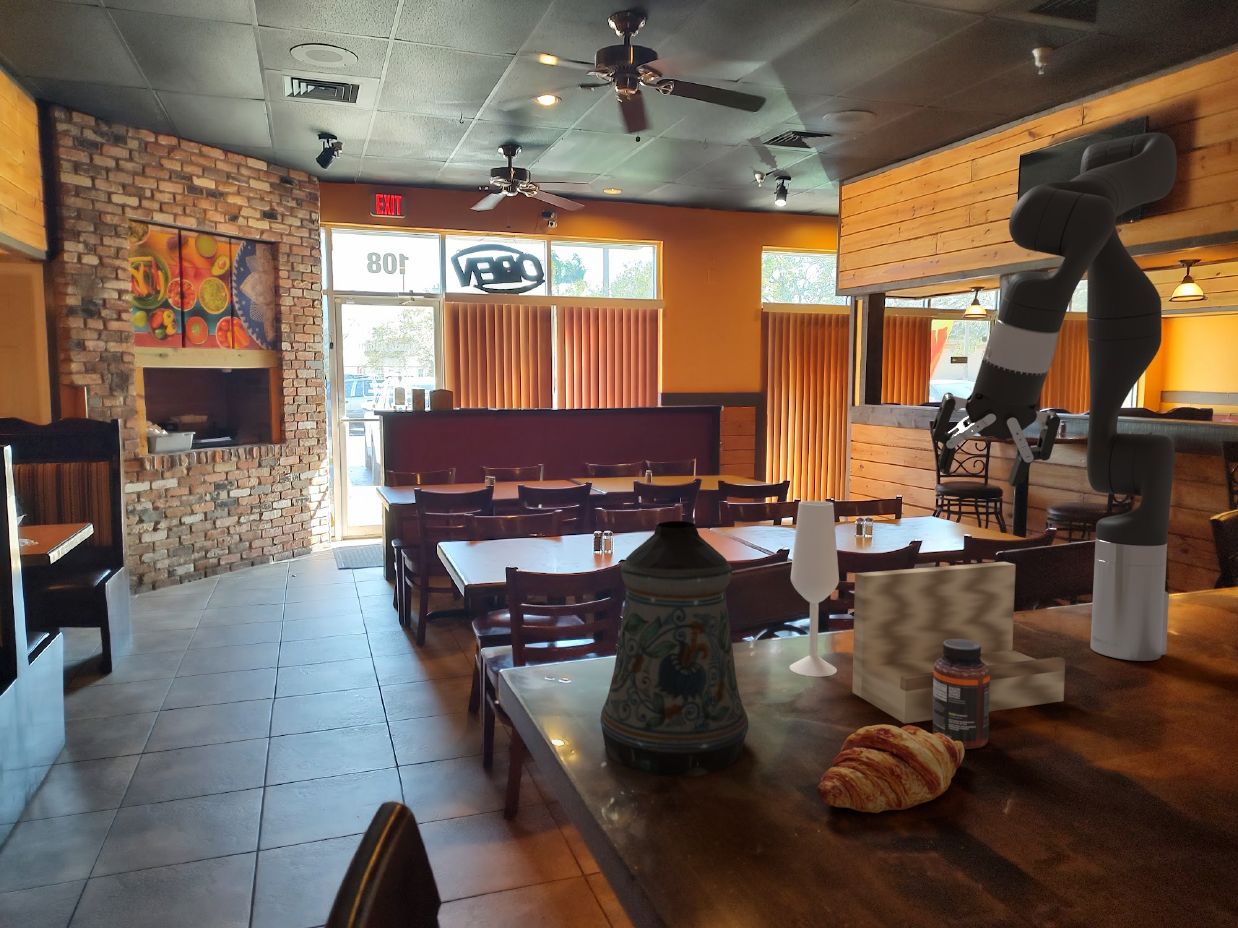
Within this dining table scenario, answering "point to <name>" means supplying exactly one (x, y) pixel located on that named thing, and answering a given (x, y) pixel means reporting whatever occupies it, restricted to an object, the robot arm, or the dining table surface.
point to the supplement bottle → (961, 694)
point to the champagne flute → (814, 573)
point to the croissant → (890, 769)
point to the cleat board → (942, 637)
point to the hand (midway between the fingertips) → (978, 478)
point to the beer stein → (675, 661)
